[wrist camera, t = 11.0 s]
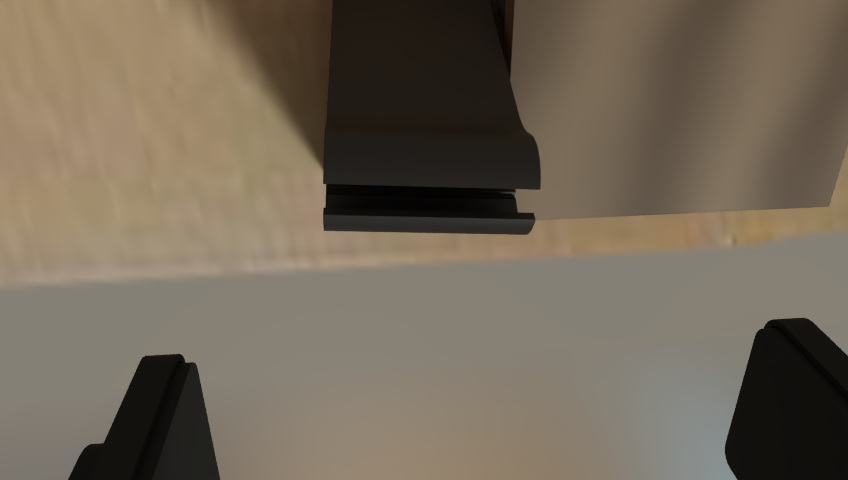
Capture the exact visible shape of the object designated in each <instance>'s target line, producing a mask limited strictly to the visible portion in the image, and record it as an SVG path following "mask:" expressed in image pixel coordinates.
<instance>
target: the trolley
mask: <svg viewBox="0 0 848 480" xmlns="http://www.w3.org/2000/svg"><path fill="white" fill-rule="evenodd" d="M498 16H499V17H501V18H503V19H505V26H504V46H503V55H504V59H505V63H506V66H507V70H508V74H509V78H510V82H511V86H512V90H513V94H514V97H515V101H516V105H517V109H518V113H519V116H520V119H521V122H522V124H523V126H524V128H525V130H526V131H527V132H528V133H530V134H531V135H532V136H533V137H534V138H535V141H536V143H537V146H538V151H539V157H540V167H541V188H540V190H530V189H515V191H516V194H515V198H516V203H517V210H518V212H523V213H534V216H535V219H536V220H553V219H575V218H596V217H617V216H639V215H660V214H681V213H702V212H724V211H745V210H766V209H788V208H809V207H829V204H830V201H831V198H832V194H833V191H834V188H835V184H836V181H837V178H838V175H839V171H840V168H841V165H842V161H843V158H844V155H845V152H846V148H847V145H848V0H499V5H498Z"/></svg>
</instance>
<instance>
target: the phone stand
mask: <svg viewBox="0 0 848 480" xmlns="http://www.w3.org/2000/svg"><path fill="white" fill-rule="evenodd" d="M323 184H326V208H324V211H323V224H324V231H360V232H412V233H464V234H515V235H527V234H528V233H529V232H530V231H531V230H532V228H533V225H534V223H535V220H536V219H535V216H534V213H523V212H518V210H517V203H516V198H515V194H516V191H515V189H530V190H540V188H541V167H540V157H539V151H538V146H537V143H536V141H535V138H534V137H533V136H532V135H531V134H530V133H528V132H527V131H526V130H525V128H524V126H523V124H522V122H521V119H520V116H519V113H518V109H517V105H516V101H515V97H514V94H513V90H512V86H511V82H510V78H509V74H508V70H507V66H506V63H505V59H504V55H503V51H502V47H501V43H500V39H499V36H498V32H497V28H496V24H495V20H494V16H493V12H492V8H491V5H490V1H489V0H333V8H332V28H331V48H330V67H329V87H328V106H327V121H326V127H325V141H324V173H323Z"/></svg>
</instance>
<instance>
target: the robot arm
mask: <svg viewBox="0 0 848 480" xmlns="http://www.w3.org/2000/svg"><path fill="white" fill-rule="evenodd" d="M725 455H726V460H727V463H728V465H729V467H730V469H731V470H732V472H733V473H734V475H735V476H736V478H737V480H848V356H847V355H846V354H845V353H844V352H843V351H842V350H841V349H840V348H839V347H838V346H837V345H836V344H835V343H834V342H833V341H832V340H830V338H829V337H828V336H827V335H826V334H824V333H823V332H822V331H821V330H820V329H819V328H818V327H817V326H816V325H815V324H814V323H813V322H812V321H810V320H809V319H806V318H792V319H776V320H775V319H774V320H770V321H768V322H767V324H766V325H765V327H764V329H760V330H759V331H758V332H757V333H756V336H755V339H754V342H753V346H752V350H751V353H750V357H749V360H748V364H747V368H746V371H745V375H744V378H743V382H742V386H741V389H740V393H739V397H738V400H737V404H736V408H735V412H734V415H733V419H732V422H731V426H730V429H729V433H728V436H727V440H726V444H725ZM68 480H220V476H219V472H218V467H217V462H216V457H215V452H214V447H213V443H212V437H211V433H210V428H209V423H208V418H207V413H206V408H205V403H204V398H203V393H202V388H201V383H200V379H199V374H198V369H197V366H196V364H195V363H193V362H191V363H185V360H184V358H183V356H182V355H181V354H172V355H154V356H145V357H143V358H142V359H141V361H140V363H139V365H138V368H137V370H136V372H135V374H134V377H133V379H132V381H131V383H130V385H129V388H128V390H127V392H126V394H125V397H124V399H123V401H122V403H121V406H120V408H119V410H118V412H117V415H116V417H115V419H114V422H113V424H112V426H111V428H110V430H109V433H108V435H107V437H106V439H105V441H104V443H102V444H90V445H88V446H87V447H86V448H84V450H83V452H82V453H81V455H80V456H79V458H78V460H77V462H76V465H75V467H74V469H73V471H72V473H71V475H70V477H69V479H68Z"/></svg>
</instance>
